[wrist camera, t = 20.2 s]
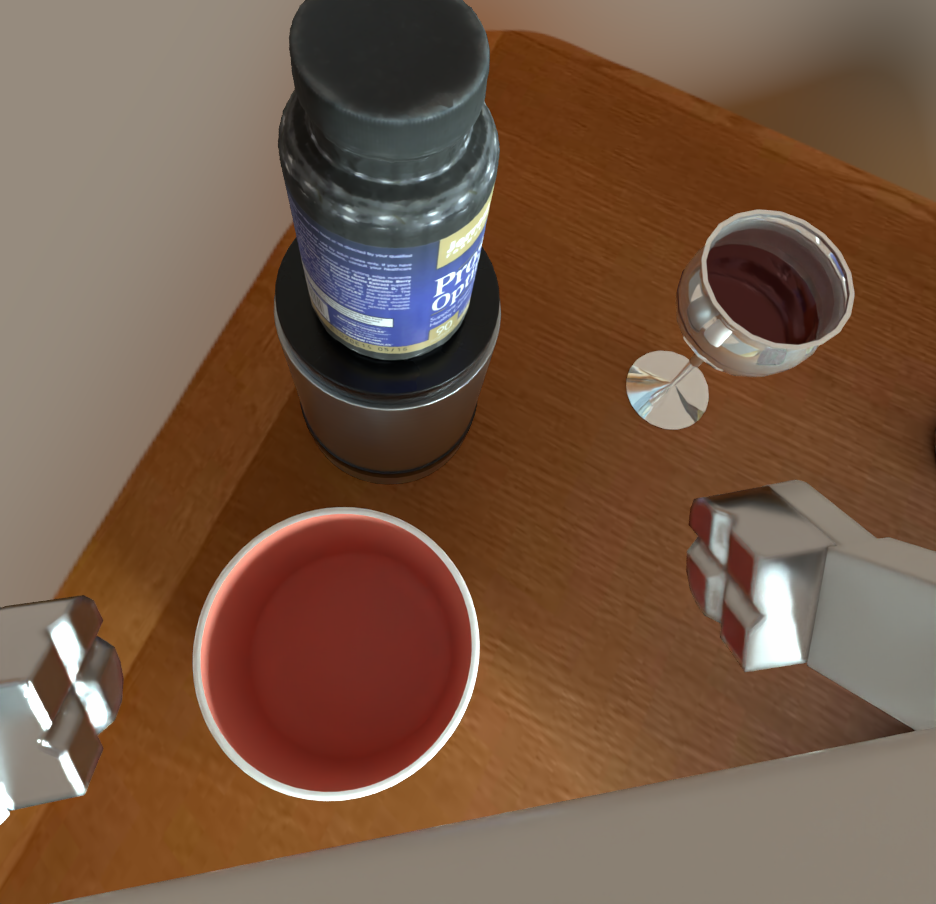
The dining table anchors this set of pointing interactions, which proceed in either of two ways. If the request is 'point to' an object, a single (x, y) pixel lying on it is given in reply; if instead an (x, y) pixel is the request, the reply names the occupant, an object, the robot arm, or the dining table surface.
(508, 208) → the dining table surface
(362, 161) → the pill bottle
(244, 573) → the cup
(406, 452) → the canister
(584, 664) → the dining table surface
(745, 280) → the wineglass
